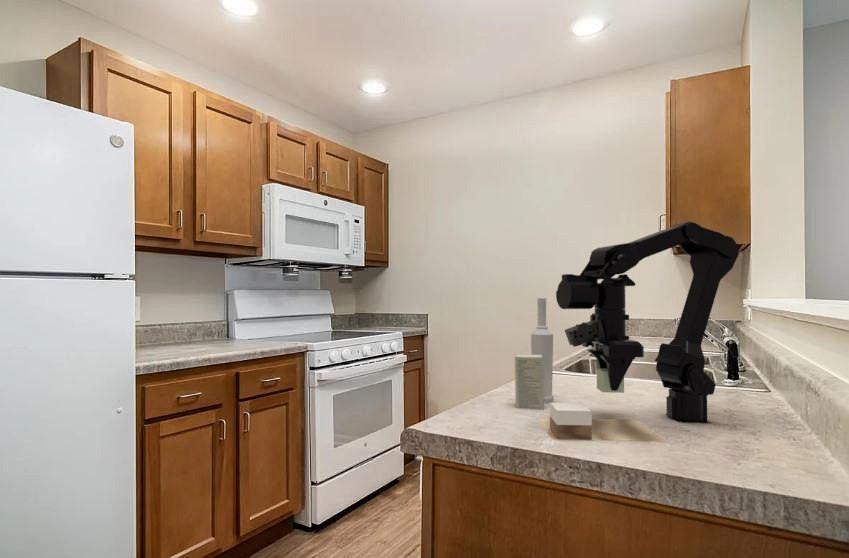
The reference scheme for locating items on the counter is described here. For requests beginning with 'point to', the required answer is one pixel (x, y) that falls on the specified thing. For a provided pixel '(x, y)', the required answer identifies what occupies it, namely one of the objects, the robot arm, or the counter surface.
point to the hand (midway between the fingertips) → (610, 388)
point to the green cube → (606, 382)
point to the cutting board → (614, 430)
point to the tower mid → (570, 414)
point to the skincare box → (529, 381)
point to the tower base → (571, 431)
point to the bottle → (544, 349)
